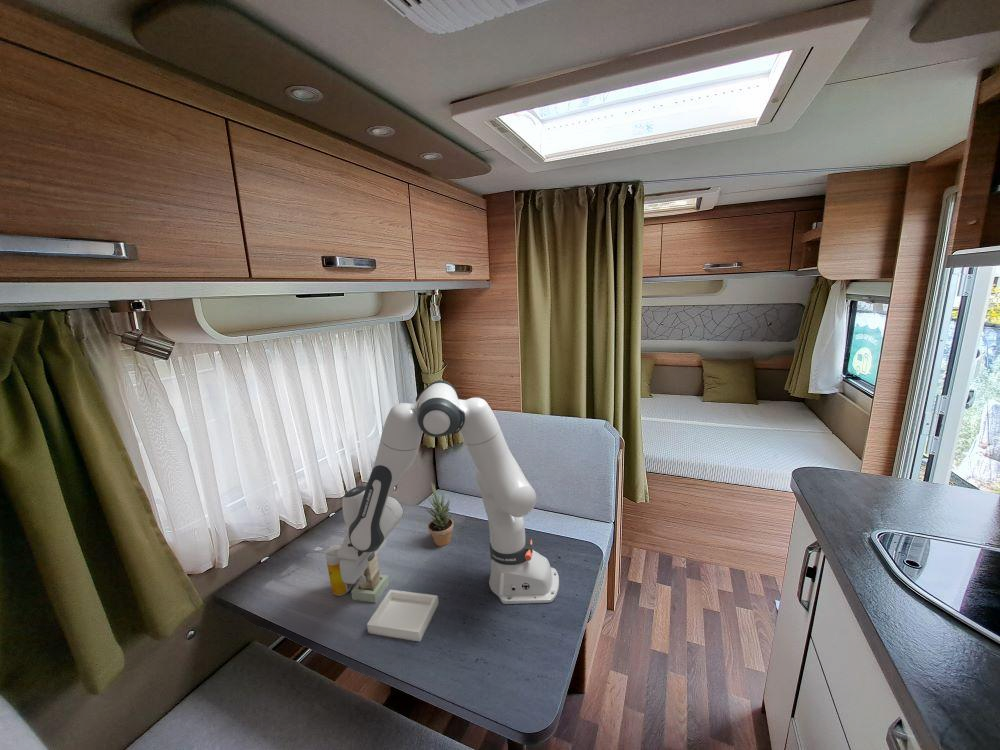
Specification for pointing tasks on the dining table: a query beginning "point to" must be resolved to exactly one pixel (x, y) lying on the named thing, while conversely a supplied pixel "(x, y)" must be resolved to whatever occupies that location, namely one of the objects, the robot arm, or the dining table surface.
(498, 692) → the dining table surface
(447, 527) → the potted plant
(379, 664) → the dining table surface
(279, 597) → the dining table surface
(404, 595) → the tray
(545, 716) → the dining table surface
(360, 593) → the socket block
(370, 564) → the wooden pepper mill
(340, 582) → the orange pill bottle
